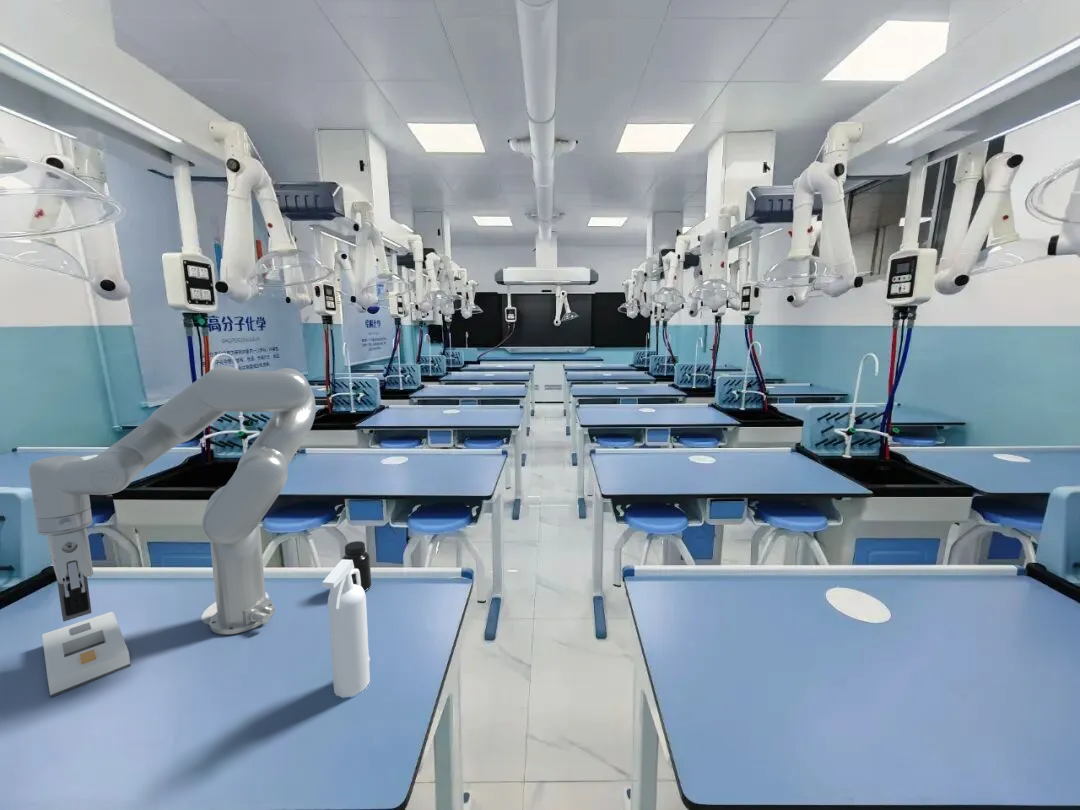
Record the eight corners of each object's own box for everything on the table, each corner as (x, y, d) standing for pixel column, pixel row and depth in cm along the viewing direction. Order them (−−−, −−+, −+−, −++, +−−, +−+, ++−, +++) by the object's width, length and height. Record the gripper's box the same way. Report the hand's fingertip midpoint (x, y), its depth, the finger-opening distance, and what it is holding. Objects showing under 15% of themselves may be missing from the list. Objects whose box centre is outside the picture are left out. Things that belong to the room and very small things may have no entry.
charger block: (91, 612, 94) (86, 575, 92) (63, 621, 91) (57, 583, 89) (89, 604, 96) (84, 568, 95) (61, 613, 93) (56, 575, 92)
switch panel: (130, 665, 93) (128, 649, 92) (50, 697, 84) (47, 679, 84) (114, 623, 106) (112, 608, 105) (44, 647, 98) (41, 631, 97)
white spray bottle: (386, 659, 95) (376, 545, 90) (356, 709, 83) (343, 580, 78) (355, 657, 96) (343, 544, 91) (321, 705, 84) (306, 578, 79)
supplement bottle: (347, 581, 124) (345, 539, 122) (374, 581, 125) (372, 538, 123) (339, 596, 118) (336, 551, 116) (367, 595, 118) (365, 550, 116)
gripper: (97, 527, 88) (108, 617, 91) (86, 504, 99) (96, 585, 101) (38, 539, 82) (52, 634, 85) (34, 513, 93) (46, 599, 96)
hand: (76, 606), depth 93 cm, fingers closed on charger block, 4 cm apart
